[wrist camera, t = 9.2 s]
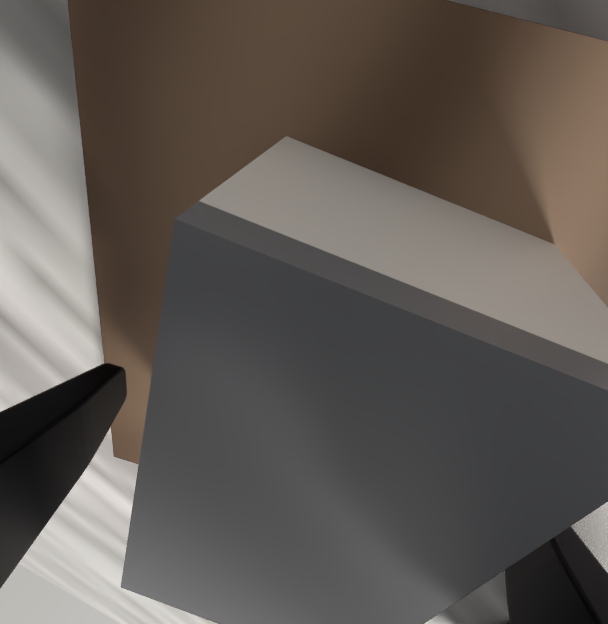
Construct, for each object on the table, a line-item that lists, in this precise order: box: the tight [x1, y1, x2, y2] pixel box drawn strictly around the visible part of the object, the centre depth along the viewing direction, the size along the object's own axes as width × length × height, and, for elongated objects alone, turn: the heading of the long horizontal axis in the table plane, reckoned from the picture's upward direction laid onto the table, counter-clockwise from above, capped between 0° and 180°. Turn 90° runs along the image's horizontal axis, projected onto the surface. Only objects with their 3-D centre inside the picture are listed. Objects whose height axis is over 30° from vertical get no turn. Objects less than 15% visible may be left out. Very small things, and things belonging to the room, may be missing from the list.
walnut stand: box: [68, 0, 608, 464], centre depth 12 cm, size 14×16×2 cm
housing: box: [121, 136, 608, 624], centre depth 9 cm, size 10×6×5 cm, turn 161°
